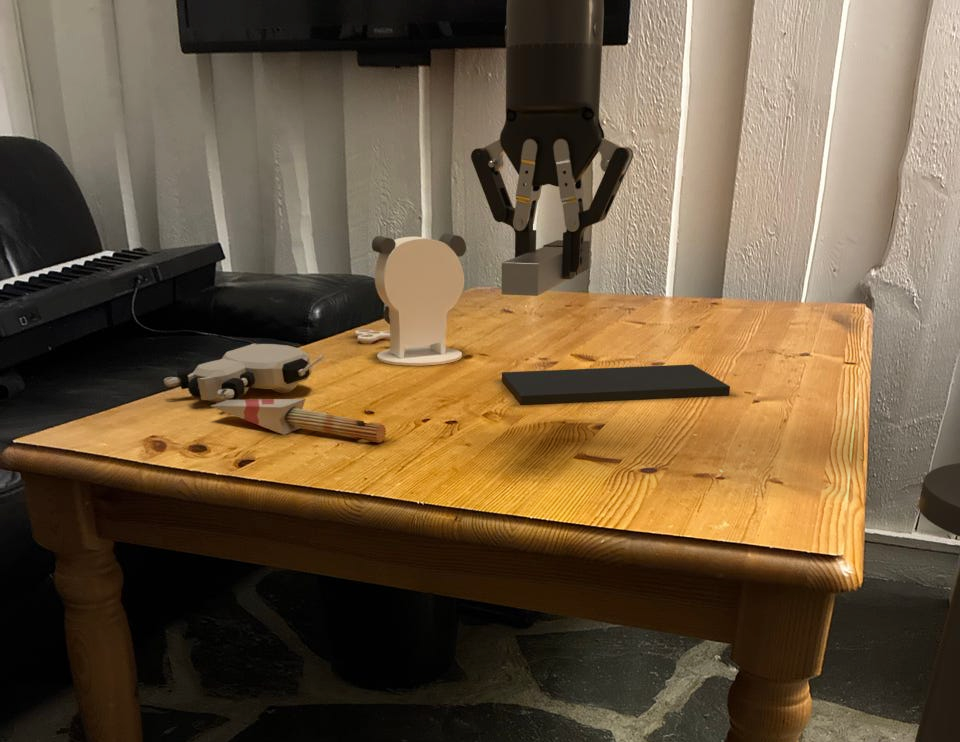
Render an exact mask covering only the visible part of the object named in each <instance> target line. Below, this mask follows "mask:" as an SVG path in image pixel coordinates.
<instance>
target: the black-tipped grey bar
mask: <svg viewBox="0 0 960 742" xmlns="http://www.w3.org/2000/svg"><path fill="white" fill-rule="evenodd" d="M590 243H591V242H590V240H584V243H583V265H582V267H581V269H580V271H578V272H575V277H577V276H578V275H580V274H582V273H584V272H586V271H588V270H589V267H590V266H589V265H590V262H589V261H590ZM562 250H563V239H560V240H559V239H557V240H554V241H551V242H548V243H545V244H543V246H542V247H540V248H536V250H534V251H531V252H529V253H526V254H523V255H521V256H518V257H515V256H514V257H513V258H510V259H507V260H505V261H502V262H501V295H503V296H526V297H527V296H528V297H538V296H540V295H541V294H544V293H546V292H548V291H550V290H551V289H553V288H555V287H557V286H558V285H560V284H563V283H565V282H566V281H568V280H569V279H563V278H562V266H563V253H562Z"/></svg>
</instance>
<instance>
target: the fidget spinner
mask: <svg viewBox="0 0 960 742" xmlns="http://www.w3.org/2000/svg"><path fill="white" fill-rule="evenodd" d="M354 335H355V337H356V339H357V341H358V342H361V343H372V342H376V341H378V340H382V339H390V330H383V331H381V330H380V331H377V330H373V329H357V330H354Z"/></svg>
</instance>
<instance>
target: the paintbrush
mask: <svg viewBox="0 0 960 742" xmlns="http://www.w3.org/2000/svg"><path fill="white" fill-rule="evenodd" d="M305 403H306V398H272V399H271V398H266V399H265V398H264V399H261V398H260V399H259V398H258V399H235V400H226V401H223V402H220V403H214V404H211V405H210V407H212V408H214V409H217V410H220V411H222V412H225V413H227V414H230V415H232V416H235V417H237V418H240V419H242V420H244V421H247V422H250V423H253V424H255V425H258V426H260V427H263V428H265V429H267V430H270V431H273V432H275V433H277V434H280V435H283V436H285V435H287V434H289V433H292V432H294V431H297V430H299V429H305V430H311V431H315V432H321V433H327V434H331V435H337V436H342V437H347V438H351V439H358V438H359V439H363V440H364V441H367V442H371V443H377V444H379V443H382V442H383V441H385V439H386V435H387V430H386V429H387V428H386V425H384V424H382V423H378V422H372V421H370V422H365V421H364V420H360V419H356V418H351V417H345V416H340V415H334V414H329V413H324V412H320V411H314V410H308V409H303V408H304V405H305Z"/></svg>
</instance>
